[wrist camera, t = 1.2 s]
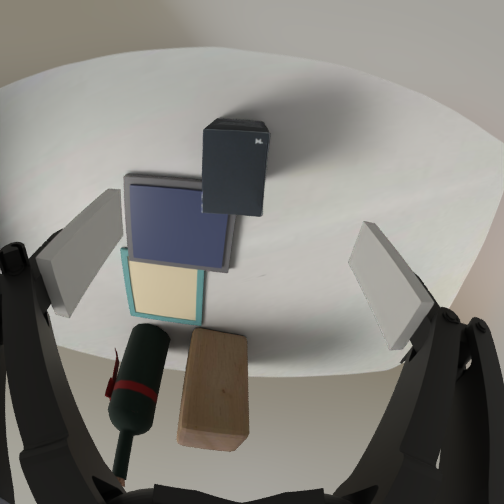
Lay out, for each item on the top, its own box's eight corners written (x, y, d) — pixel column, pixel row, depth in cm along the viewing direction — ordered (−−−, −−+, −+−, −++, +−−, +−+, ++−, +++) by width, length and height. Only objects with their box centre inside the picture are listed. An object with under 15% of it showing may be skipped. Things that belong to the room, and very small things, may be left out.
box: (215, 117, 29) (202, 127, 20) (264, 121, 29) (273, 131, 21) (212, 179, 33) (200, 214, 24) (257, 182, 34) (263, 218, 25)
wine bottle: (117, 319, 46) (69, 465, 21) (168, 326, 47) (136, 487, 22) (126, 344, 50) (90, 477, 25) (172, 351, 51) (149, 494, 26)
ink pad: (131, 257, 39) (128, 262, 38) (126, 174, 32) (122, 177, 31) (228, 269, 40) (227, 274, 39) (240, 184, 34) (239, 188, 32)
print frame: (131, 313, 45) (130, 315, 45) (121, 247, 38) (120, 249, 38) (201, 323, 47) (201, 325, 46) (205, 257, 39) (204, 259, 39)
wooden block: (248, 334, 48) (251, 437, 32) (235, 363, 54) (235, 453, 37) (193, 324, 47) (179, 428, 30) (187, 355, 52) (175, 445, 35)
